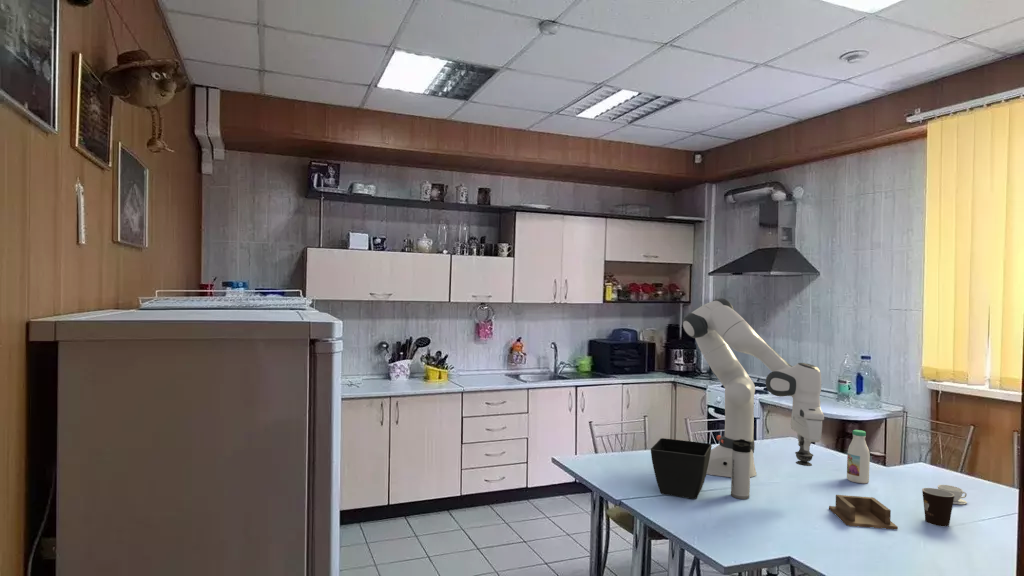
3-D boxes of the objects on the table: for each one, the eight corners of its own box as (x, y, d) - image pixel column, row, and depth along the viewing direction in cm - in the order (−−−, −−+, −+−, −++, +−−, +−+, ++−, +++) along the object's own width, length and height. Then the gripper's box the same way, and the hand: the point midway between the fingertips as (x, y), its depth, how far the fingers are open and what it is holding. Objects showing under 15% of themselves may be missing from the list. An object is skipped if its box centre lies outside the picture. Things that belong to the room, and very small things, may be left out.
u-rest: (846, 525, 191) (847, 508, 191) (829, 508, 206) (829, 492, 206) (897, 529, 189) (898, 512, 189) (875, 512, 204) (876, 496, 204)
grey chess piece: (811, 462, 214) (813, 429, 214) (814, 467, 209) (815, 432, 209) (793, 460, 216) (795, 427, 216) (795, 464, 211) (797, 430, 211)
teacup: (938, 503, 216) (938, 490, 216) (929, 494, 226) (929, 482, 226) (971, 507, 213) (971, 494, 213) (961, 498, 222) (961, 485, 223)
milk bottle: (863, 478, 243) (864, 429, 243) (872, 484, 235) (874, 433, 235) (843, 477, 244) (844, 428, 244) (852, 483, 236) (853, 432, 236)
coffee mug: (954, 530, 191) (955, 498, 191) (921, 523, 195) (922, 493, 195) (951, 518, 200) (952, 489, 200) (920, 513, 205) (921, 483, 205)
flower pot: (648, 495, 215) (650, 448, 215) (659, 480, 232) (660, 437, 232) (703, 504, 207) (705, 455, 207) (710, 489, 224) (712, 443, 224)
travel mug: (749, 495, 218) (751, 440, 218) (748, 500, 212) (750, 444, 212) (731, 492, 221) (733, 438, 221) (730, 497, 215) (731, 441, 215)
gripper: (787, 403, 223) (785, 440, 223) (806, 414, 203) (804, 455, 203) (805, 404, 222) (802, 441, 222) (826, 416, 202) (823, 457, 202)
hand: (803, 448), depth 213 cm, fingers closed on grey chess piece, 3 cm apart
